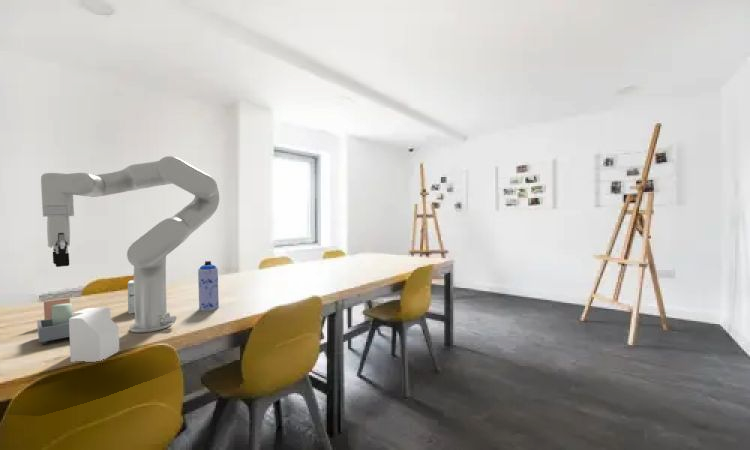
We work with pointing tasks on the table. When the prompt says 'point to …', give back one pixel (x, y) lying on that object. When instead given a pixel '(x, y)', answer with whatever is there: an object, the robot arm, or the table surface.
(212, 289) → the aerosol can
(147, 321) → the robot arm
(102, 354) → the white angular block
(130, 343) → the table surface
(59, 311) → the part
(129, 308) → the supplement box
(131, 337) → the table surface
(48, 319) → the grey desk organizer
